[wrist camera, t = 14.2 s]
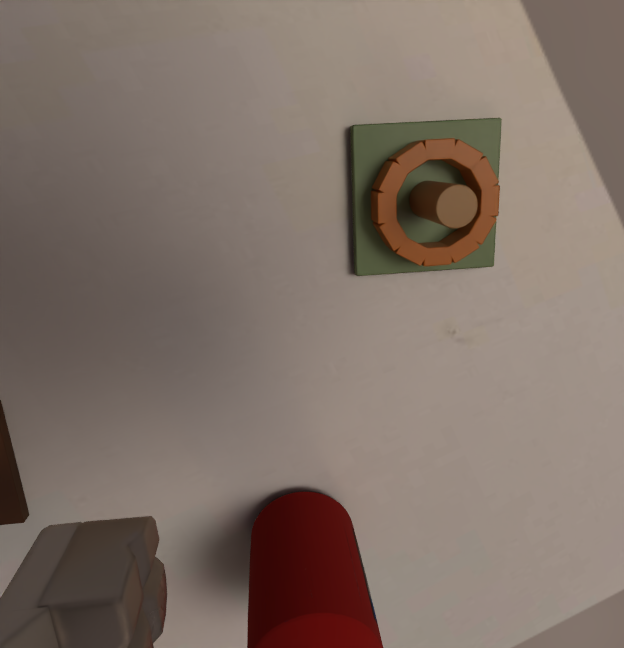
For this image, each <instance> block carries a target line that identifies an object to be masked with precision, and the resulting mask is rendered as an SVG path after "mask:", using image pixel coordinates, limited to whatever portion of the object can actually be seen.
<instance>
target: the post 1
mask: <svg viewBox="0 0 624 648" xmlns="http://www.w3.org/2000/svg"><path fill="white" fill-rule="evenodd" d="M28 516H29V512H28V508H27V504H26V500H25V496H24V492H23V488H22V484H21V480H20V476H19V472H18V468H17V464H16V460H15V456H14V452H13V448H12V444H11V440H10V436H9V432H8V428H7V424H6V420H5V416H4V412H3V408H2V404H1V400H0V525H5V524H15V523H24V522H25V520H26V519H27V517H28Z"/></svg>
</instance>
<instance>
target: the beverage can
mask: <svg viewBox="0 0 624 648" xmlns="http://www.w3.org/2000/svg"><path fill="white" fill-rule="evenodd" d="M247 648H383V645H382V641H381V636H380V632H379V628H378V624H377V619H376V615H375V611H374V607H373V603H372V599H371V595H370V591H369V587H368V583H367V578H366V575H365V571H364V567H363V563H362V559H361V555H360V551H359V547H358V543H357V540H356V536H355V532H354V528H353V525H352V521H351V518H350V516H349V514H348V513H347V511H346V510H345V509H344V507H343V506H342V505H341V504H340V503H338V502H337V501H336V500H334V499H332V498H331V497H329V496H326V495H324V494H320V493H316V492H295V493H290V494H287V495H284V496H282V497H279V498H277V499H276V500H274V501H272V502H271V503H270V504H268V505H267V506H266V507H265V508H264V509H263V510H262V511H261V512H260V514H259V515H258V517H257V518H256V520H255V522H254V525H253V528H252V533H251V550H250V573H249V603H248V644H247Z"/></svg>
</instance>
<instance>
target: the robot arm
mask: <svg viewBox="0 0 624 648" xmlns="http://www.w3.org/2000/svg"><path fill="white" fill-rule="evenodd" d="M158 543H159V535H158V531H157V526H156V521H155V520H154V519H153V517H152V516H145V517H133V518H122V519H110V520H98V521H86V522H83V523H82V522H76V523H66V524H57V525H49V526H48V527H46V528H44V529H43V530H42V531H41V532H40V534H39V535H38V537H37V539H36V540H35V542H34V544H33V545H32V547H31V549H30V550H29V552H28V553H27V555H26V557H25V558H24V560H23V562H22V563H21V565H20V567H19V568H18V570H17V572H16V573H15V575H14V577H13V578H12V580H11V582H10V583H9V585H8V587H7V588H6V590H5V592H4V593H3V595H2V597H1V598H0V648H154V647H153V643H154V642H155V641H156V639H157V638H158V637H159V636H160V635H161V634H162V632H163V627H164V621H165V616H166V602H167V586H166V575H165V569H164V564H163V563H162V562H161V561H160V560H159V559H157V558H156V557H155V554H156V550H157V546H158Z"/></svg>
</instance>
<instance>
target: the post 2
mask: <svg viewBox="0 0 624 648" xmlns="http://www.w3.org/2000/svg"><path fill="white" fill-rule="evenodd" d="M501 120H502V119H501V118H486V119H465V120H445V121H425V122H405V123H384V124H364V125H353V126H351V127H350V134H351V171H352V208H353V244H354V273H355V274H356V275H357V276H364V275H379V274H393V273H407V272H422V271H436V270H451V269H465V268H480V267H492V266H494V252H495V233H496V222H495V223H494V225H493V227H492V228H491V230H490V232H489V234H488V235H487V237H486V239H485V240H484V242H483V244H482V245H480V244H478V245H479V248H478V249H477V250H475V251H474V252H472V253H471V254H469V255H467V256H466V257H464V258H463V259H461V260H460V261H458V262H457V263H453V262H452V263H451V264H450V265H439V266H423V265H421V266H419V265H417V264H415V263H413V262H411V261H409V260H407V259H406V258H404V257H402V256H400V255H398V254H396V253H395V252H393V251H392V250H390V249H389V247H387V246H386V245H385V243H384V242H383V240H382V238H381V237H380V235H379V233H378V232H377V230H376V228H375V227H374V225H373V222H374V221H373V220H371V191H376V190H374V189H372V186H373V184H374V182H375V180H376V178H377V176H378V174H379V172H380V170H381V169H382V167H383V165H384V163H385V161H389V160H388V158H389V157H391V156H392V155H394V154H395V153H397V152H398V151H400V150H401V149H403V148H404V147H406V146H407V145H408V144H410V143H411V142H416V141H418V140H427V139H445V138H455V139H459V140H461V141H463V142H465V143H466V144H468V145H470V146H472V147H473V148H475V149H477V150H478V151H480V152H482V153H483V156H486V157H487V159H488V161H489V163H490V165H491V167H492V169H493V171H494V173H495V175H496V177H497V179H498V177H499V158H500V139H501ZM496 185H498V183H497V184H496ZM477 207H478V202H477V197H476V195H475V193H474V192H473V191H472V190H471V189H470V188H469V187H468V186H467V184H466V182H465V180H464V179H463V177H462V175H461V173H460V171H459V169H457V168H455V167H453V166H451V165H450V164H448V163H446V162H444V161H443V160H428V161H426V162H425V163H423V164H422V165H420V166H419V167H417V168H416V169H415V170H413V171H412V172H410V173H409V174H408V175H407V177H406V179H405V181H404V182H403V184H402V186H401V188H400V190H399V192H398V194H397V220H398V222H399V223H400V225H401V227H402V229H403V230H404V232H405V234H406V235H407V237H408V238H409V239H411V240H413V241H415V242H417V243H427V242H439V241H441V240H442V239H444V238H445V237H447V236H448V235H450V234H451V233H453V232H454V231H456V230H457V229H458V228H461V227H464V226H465V225H467V224H468V223H470V222H471V221H472V219H473V218H474V216H475V214H476V212H477ZM493 217H495V218H496V216H493Z"/></svg>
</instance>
